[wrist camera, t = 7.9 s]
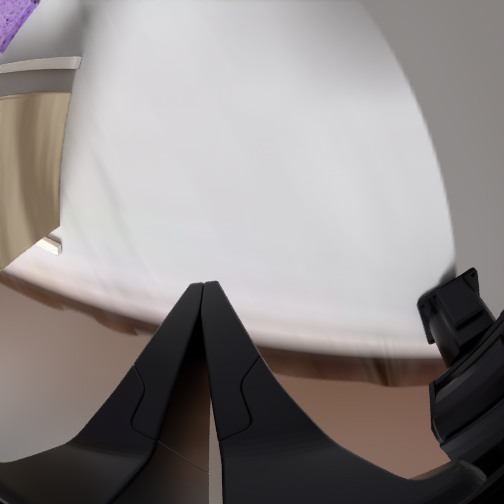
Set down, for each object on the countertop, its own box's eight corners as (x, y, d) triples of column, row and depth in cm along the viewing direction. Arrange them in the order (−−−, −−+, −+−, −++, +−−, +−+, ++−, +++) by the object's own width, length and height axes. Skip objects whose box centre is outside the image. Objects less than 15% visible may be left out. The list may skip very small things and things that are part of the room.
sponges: (5, 53, 12) (-7, 54, 10) (-3, 3, 7) (-12, 2, 5) (43, 4, 9) (30, 2, 8) (31, -39, 5) (22, -41, 3)
